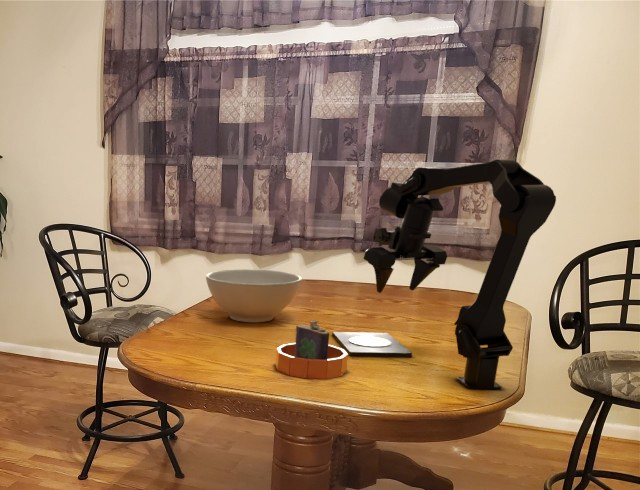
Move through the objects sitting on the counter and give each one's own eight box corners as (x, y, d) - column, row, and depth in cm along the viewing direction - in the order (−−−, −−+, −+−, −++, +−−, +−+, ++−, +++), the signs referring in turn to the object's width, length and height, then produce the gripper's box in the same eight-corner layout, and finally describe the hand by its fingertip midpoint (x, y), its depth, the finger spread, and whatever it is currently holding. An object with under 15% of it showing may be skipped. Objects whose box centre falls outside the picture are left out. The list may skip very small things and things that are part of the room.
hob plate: (411, 357, 158) (412, 352, 158) (349, 356, 159) (350, 351, 159) (387, 336, 177) (387, 332, 177) (332, 335, 178) (332, 331, 178)
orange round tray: (352, 379, 142) (354, 360, 141) (281, 378, 143) (282, 359, 142) (337, 360, 156) (338, 343, 155) (272, 358, 157) (273, 342, 156)
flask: (290, 364, 153) (294, 317, 150) (301, 362, 154) (305, 315, 151) (320, 375, 145) (324, 325, 142) (330, 373, 147) (335, 324, 143)
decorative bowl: (234, 304, 217) (236, 266, 213) (314, 316, 200) (317, 275, 197) (186, 319, 197) (187, 277, 193) (270, 333, 181) (273, 287, 177)
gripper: (424, 212, 160) (405, 275, 168) (358, 215, 154) (341, 279, 162) (458, 228, 151) (436, 293, 159) (389, 231, 145) (369, 299, 153)
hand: (395, 290), depth 159 cm, fingers open, 9 cm apart
